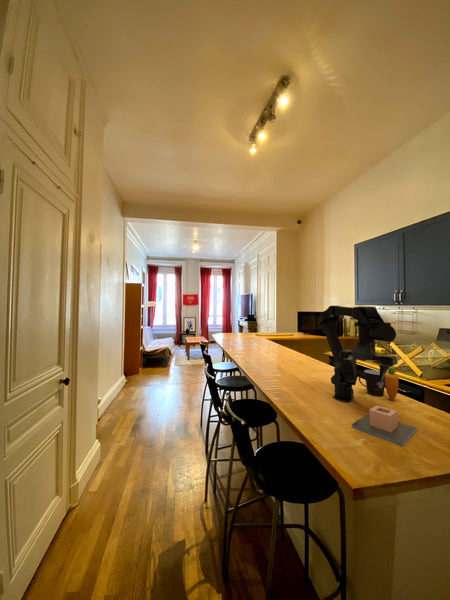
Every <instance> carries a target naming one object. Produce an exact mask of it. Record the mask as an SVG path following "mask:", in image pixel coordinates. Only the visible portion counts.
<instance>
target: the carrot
mask: <svg viewBox="0 0 450 600" xmlns="http://www.w3.org/2000/svg"><path fill="white" fill-rule="evenodd" d="M396 369H397V366H396V365H394V366H391V367H389V369H388V370H387V372H388V373H386V374H385V390H386V394H387V395H388V396H387V397H388V398H389V400H390V401H391V402H393V401H395V399H396V397H397V395H398V391H399V376H398V375H397V374H395V373H396V372H397V370H396Z"/></svg>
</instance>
